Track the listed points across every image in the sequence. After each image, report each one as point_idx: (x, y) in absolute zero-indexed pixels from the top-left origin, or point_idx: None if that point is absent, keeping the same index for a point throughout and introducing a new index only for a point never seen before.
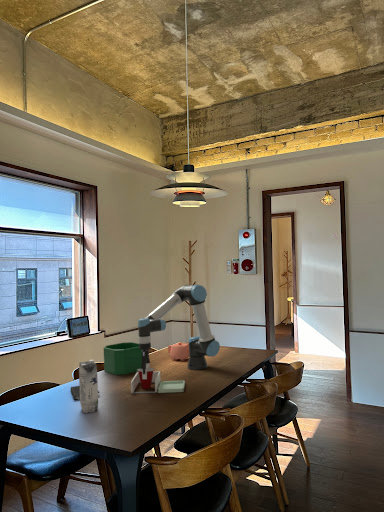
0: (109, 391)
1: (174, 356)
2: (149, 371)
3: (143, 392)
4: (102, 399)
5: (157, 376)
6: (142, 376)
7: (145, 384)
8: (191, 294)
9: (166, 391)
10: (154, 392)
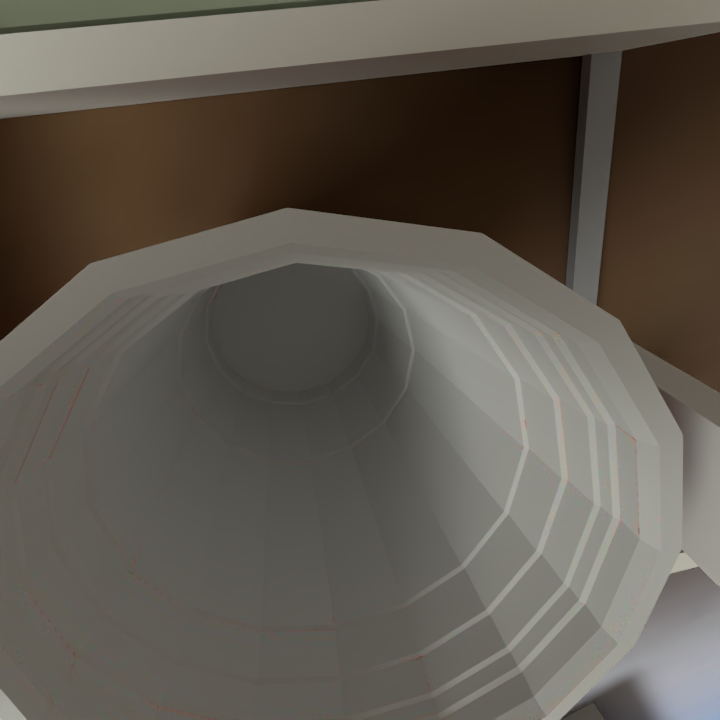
0: None
1: None
2: (591, 358)
3: (597, 280)
4: (697, 629)
5: (290, 38)
6: None
7: (409, 337)
8: None
9: None
10: (614, 70)
